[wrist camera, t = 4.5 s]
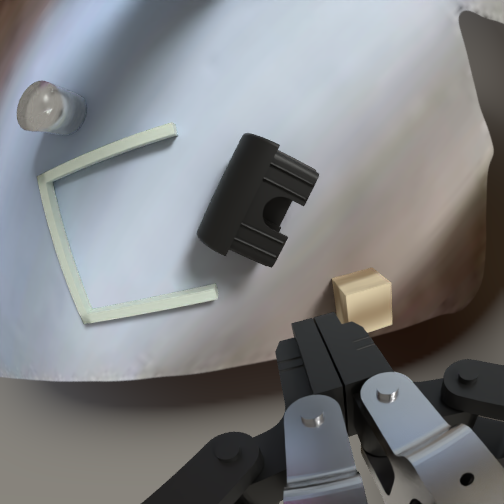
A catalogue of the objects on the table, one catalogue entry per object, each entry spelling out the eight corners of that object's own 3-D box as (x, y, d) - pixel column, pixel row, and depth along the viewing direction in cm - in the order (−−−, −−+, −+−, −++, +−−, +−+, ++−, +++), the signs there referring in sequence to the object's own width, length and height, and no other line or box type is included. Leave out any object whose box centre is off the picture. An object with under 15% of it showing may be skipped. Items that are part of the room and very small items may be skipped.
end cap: (243, 137, 28) (244, 127, 22) (306, 168, 29) (325, 168, 23) (201, 226, 30) (190, 241, 24) (263, 254, 31) (269, 277, 25)
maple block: (331, 278, 32) (345, 295, 28) (371, 267, 32) (390, 282, 27) (336, 316, 34) (349, 337, 29) (374, 305, 34) (392, 324, 29)
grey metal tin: (50, 104, 25) (15, 95, 19) (84, 87, 25) (51, 71, 19) (55, 141, 27) (19, 138, 20) (89, 125, 27) (55, 117, 20)
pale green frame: (43, 175, 28) (36, 176, 26) (175, 124, 27) (172, 122, 26) (88, 318, 33) (83, 324, 31) (218, 293, 32) (217, 299, 31)
